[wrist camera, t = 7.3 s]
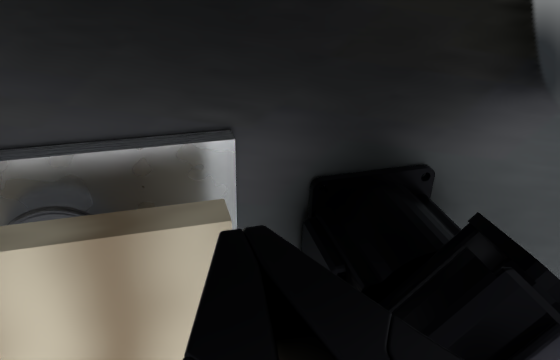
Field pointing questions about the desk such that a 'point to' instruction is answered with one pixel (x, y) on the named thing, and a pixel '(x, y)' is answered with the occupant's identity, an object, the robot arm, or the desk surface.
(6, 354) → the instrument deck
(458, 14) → the desk surface
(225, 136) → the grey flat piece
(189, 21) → the desk surface
